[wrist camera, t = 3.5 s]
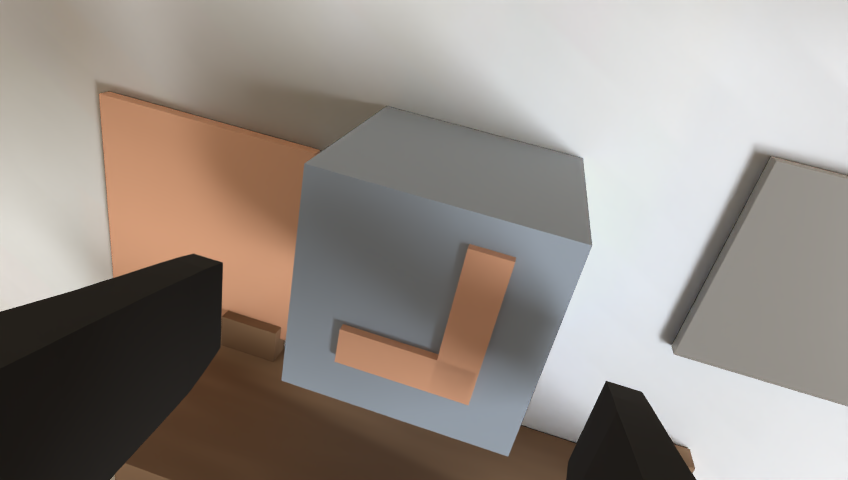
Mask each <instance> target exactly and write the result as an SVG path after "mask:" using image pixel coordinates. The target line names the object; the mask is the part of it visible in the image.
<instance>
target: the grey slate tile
mask: <svg viewBox="0 0 848 480" xmlns="http://www.w3.org/2000/svg"><path fill="white" fill-rule="evenodd" d="M672 350H673V353H674V354H675V355H678V356H681V357H685V358H688V359H691V360H695V361H698V362H701V363H705V364H708V365H711V366H715V367H718V368H721V369H725V370H728V371H731V372H735V373H738V374H742V375H745V376H748V377H752V378H755V379H758V380H762V381H765V382H768V383H772V384H775V385H778V386H782V387H785V388H788V389H792V390H795V391H798V392H802V393H805V394H808V395H812V396H815V397H818V398H822V399H825V400H828V401H832V402H835V403H838V404H842V405H845V406H848V175H844V174H840V173H836V172H832V171H828V170H824V169H820V168H816V167H812V166H808V165H804V164H800V163H796V162H792V161H788V160H784V159H780V158H776V157H773V156H771V157H770V159H769V161H768V163H767V165H766V167H765V168H764V170H763V172H762V174H761V176H760V178H759V180H758V182H757V184H756V186H755V188H754V189H753V191H752V193H751V195H750V197H749V199H748V201H747V203H746V205H745V207H744V209H743V210H742V212H741V214H740V216H739V218H738V220H737V222H736V224H735V226H734V228H733V230H732V231H731V233H730V235H729V237H728V239H727V241H726V243H725V245H724V247H723V249H722V251H721V252H720V254H719V256H718V258H717V260H716V262H715V264H714V266H713V268H712V270H711V272H710V273H709V275H708V277H707V279H706V281H705V283H704V285H703V287H702V289H701V291H700V292H699V294H698V296H697V298H696V300H695V302H694V304H693V306H692V308H691V310H690V312H689V313H688V315H687V317H686V319H685V321H684V323H683V325H682V327H681V329H680V331H679V333H678V334H677V336H676V338H675V340H674V342H673V344H672Z"/></svg>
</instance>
